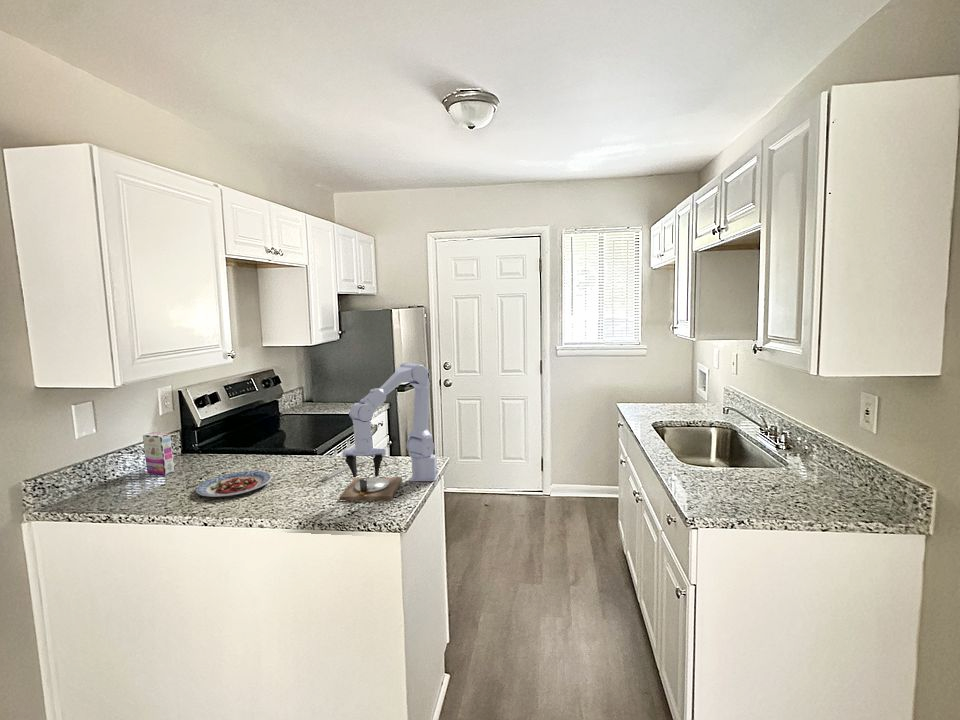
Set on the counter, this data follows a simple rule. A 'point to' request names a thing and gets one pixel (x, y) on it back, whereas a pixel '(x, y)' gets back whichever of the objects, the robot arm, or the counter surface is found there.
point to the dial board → (380, 495)
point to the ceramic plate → (233, 483)
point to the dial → (371, 485)
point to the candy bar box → (159, 453)
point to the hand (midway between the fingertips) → (366, 476)
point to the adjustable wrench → (342, 470)
